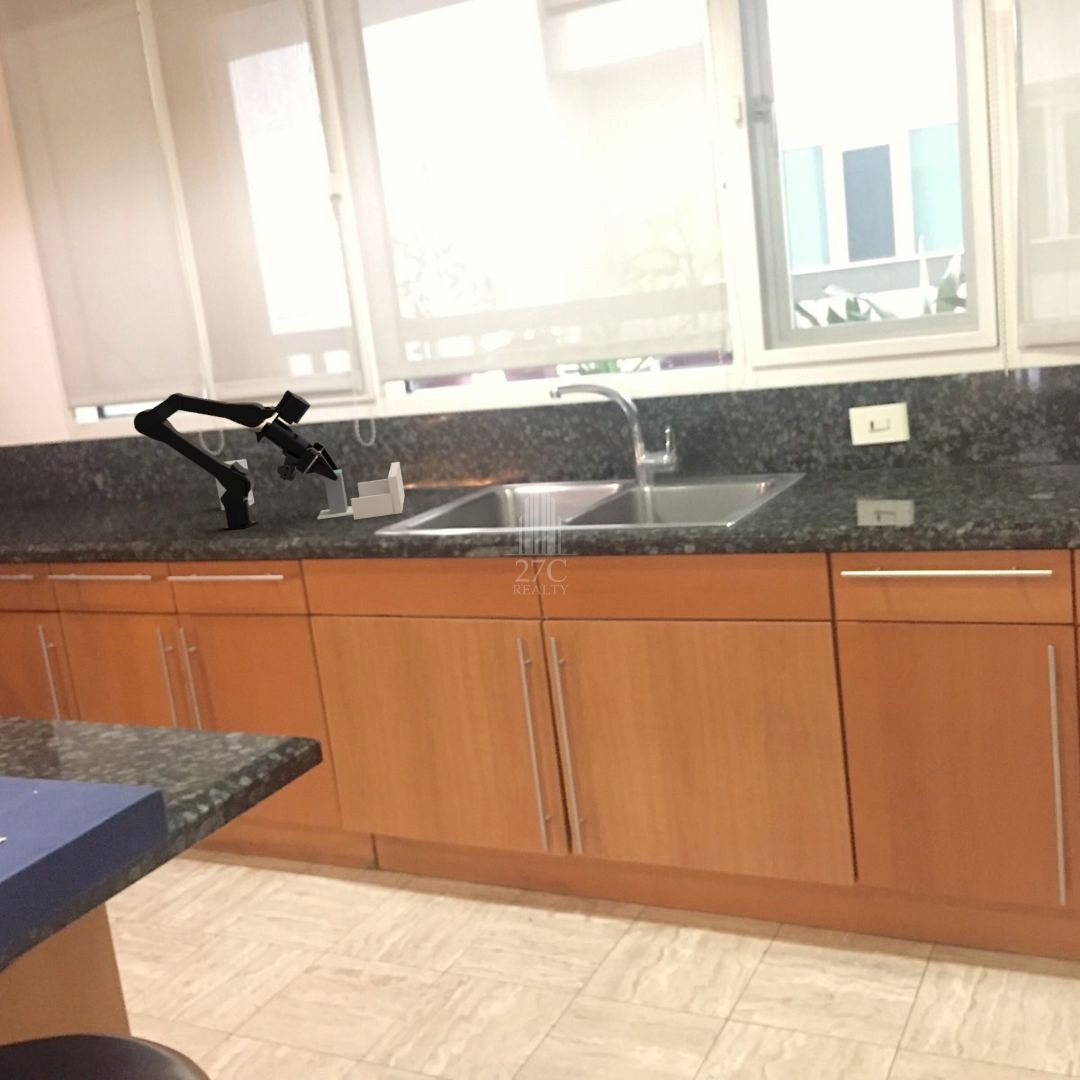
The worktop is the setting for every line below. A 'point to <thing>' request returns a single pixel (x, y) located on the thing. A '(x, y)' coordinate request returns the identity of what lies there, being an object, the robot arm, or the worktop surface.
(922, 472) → the worktop surface
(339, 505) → the grey teal block
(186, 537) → the worktop surface
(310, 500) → the worktop surface
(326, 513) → the mat
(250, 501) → the supplement box
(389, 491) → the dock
